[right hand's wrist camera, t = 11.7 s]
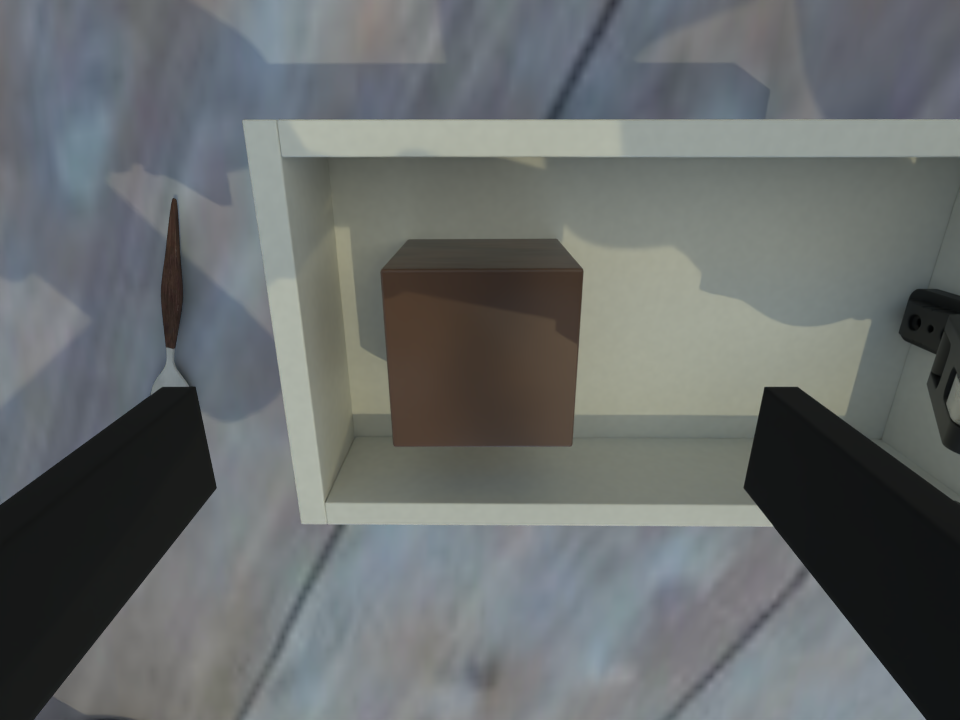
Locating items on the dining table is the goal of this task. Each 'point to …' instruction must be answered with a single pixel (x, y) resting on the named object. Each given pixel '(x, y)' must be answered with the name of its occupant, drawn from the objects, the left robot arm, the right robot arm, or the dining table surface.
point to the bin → (612, 300)
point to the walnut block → (482, 342)
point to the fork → (171, 303)
